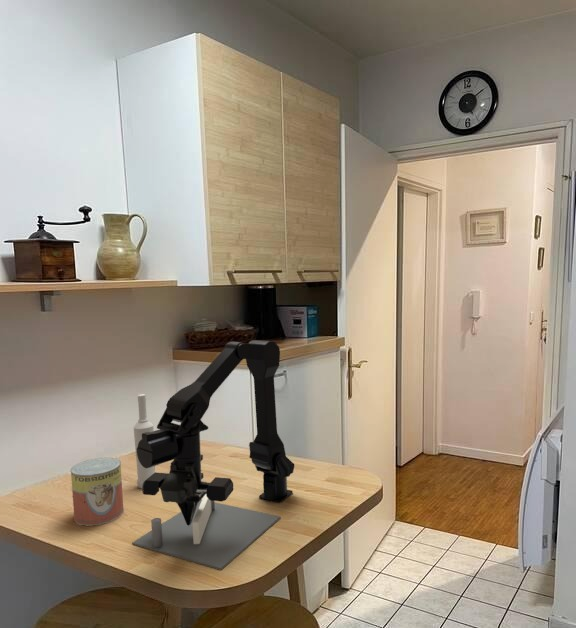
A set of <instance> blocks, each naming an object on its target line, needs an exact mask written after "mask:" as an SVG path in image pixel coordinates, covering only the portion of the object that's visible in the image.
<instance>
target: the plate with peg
mask: <svg viewBox="0 0 576 628" xmlns="http://www.w3.org/2000/svg"><path fill="white" fill-rule="evenodd" d="M202 499H203V498H202ZM202 499H201V500H200V501H199V503H198V505H197V508H196V511H195V514H194V517H193V519H192V522H191V524H190V525H189V526H188V525H187V524H186V521H185V519H184V517H183V514H182V512H181V511H180V512H178V513H177V514H175V515H173V516H172V517H170V518H168V519H167V520H165V521H164V522H163V523H162V518H160V517H155V518H152V519H150V522H151V524H150V525H151V530H149V531H148V532H147V533H145V534H144V535H142V536H140V537H139V538H137V539H136V540H134V541H132V543H131V544H132V545H134V546H136V547H141V548H143V547H144V549H147V550H151V551H154V552H157V553H161V554H165V555H168V556H172V557H175V558H178V559H182V560H186V561H189V562H192V563H195V564H199V565H202V566H205V567H210V568H212V569H216V570H220V571H222V570H223V569H224V568H226V567H227V565H229V564H230V563H231V562H232V561H234V559H236V558H237V557H238V556H239V555H240V554H241V553H242V552H244V551H245V550H246V549H247V548H249V546H251V545H252V544H253V543H254V542H255V541H256V540H258V538H260V537H261V536H262V535H263V534H264V533H265V532H266V531H268V530H269V529H271V527H273V525H275V524H276V523H277V522H278V521H279V520H280V519H282V518H281V515H277V514H276V515H275V514H270V513H267V512H262V511H258V510H253V509H248V508H242V507H238V506H234V505H229V504H226V503H225V504H224V503H220V502H217V501H214V503H215V509H214V510H212V511H211V514H210V517H209V519H208V522H207V525H206V528H205V530H204V533H203V536H202V539H201V541H200V544H194V541H193V520H194V518H195V515H196V513H197V511H198V508H199V506H200V504H201V501H202Z"/></svg>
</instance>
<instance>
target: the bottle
mask: <svg viewBox="0 0 576 628" xmlns="http://www.w3.org/2000/svg"><path fill="white" fill-rule="evenodd" d="M146 397H147V396H146V394H144V393H141V394H138V395H137V403H138V420H137V423H136V424H135V425H134V426H133V435H134V436H133V438H134V449H135V459H136V472H137V479H136V485H137V487H138V488H139V489H141V490H142V485H143V482H144V481H145V480H146V479H147V478H149V477H150V476H151V475H152V474H154V473H155V472H156V466H153V467H150V468H144V467H143V466H142V465H141V464H140V462H139V460H138V456H137V448H138V443H139V441H140V440H142V433H145V432H153V431H155V430H154V424H153V423H152V422H151V421H149V418H148V417H147V414H148V413H147V398H146Z"/></svg>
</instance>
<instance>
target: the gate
mask: <svg viewBox="0 0 576 628" xmlns="http://www.w3.org/2000/svg"><path fill="white" fill-rule="evenodd" d="M214 502H215V501H211V500H209V499H208V498H207V496H206V494H205V496H204V497H203V498H202V501H201V504H200V506H199V508H198V511H197V513H196V515H195V518H194V520H193V541H194V544H200V541H201V539H202V536H203V533H204V530H205V528H206V525H207V522H208V519H209V517H210V514H211V511H212V510H214V509H215V503H214Z"/></svg>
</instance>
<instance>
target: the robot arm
mask: <svg viewBox="0 0 576 628" xmlns="http://www.w3.org/2000/svg"><path fill="white" fill-rule="evenodd" d="M280 359H281V350H280V347H279V345H278V344H277V343H276V342H275V341H272V340H271V341H270V340H260V339H259V340H257V339H253V340H250V341H249V342H248V343H245V342H240V341H239V342H238V341H229V342H227V343H226V344H224V348H223V349H222V351H220V353H219V354H218V355H217V356H216V357H215V358H214V360H212V362H211V363H210V364H209V365H208V366H207V367H206V368H205V370H204V371H203V372H202V373H201V374H199V376H198V377H197V378H196V380H194V381H193V382H192V383H191V384H189V385H187V386H185V387H183V388H181V389H179V390H178V391H177V392H176V393H175V394H173V395H172V396H171V397H169V399H168V400H167V403H166V408H165V410H164V412H163V414H162V415H161V418H160V420H159V421H158V423H157V425H156V429H157V430H154V431H153V432H145V433H142V440H140V441H139V443H138V448H137V456H138V460H139V462H140V464H141V465H142V466H143V467H144V468H150V467H153V466H155V467H156V466H159V465H163V464H165V463H167V462H170V466H169V469H170V470H169V473H167V472H157V471H155V473H154V474H152V475H151V476H150V477H149V478H147V479H146V480H145V481H144V482H143V485H142V489H141V490H142V495H144V496H146V495H148V496H156V495H157V494H158V493H159V492H160V493H161V498H162V501H163V502H165V503H169V502H170V503H175V504H177V506H178V507H179V509H180V512H182V514H183V517H184V519H185V521H186V524H187V525H188V526H189V525H190V524H191V522H192V519H193V517H194V514H195V511H196V508H197V505H198V503H199V501H200V500H201V499H203V497H204V496H205V494H206V496H207V498H208V499H209V500H211V501H214V502H225V501H227V499H228V498H229V497H230V496H231V494H232V492H233V491H234V482H233V481H232V479H231V478H229V477H217V476H215V477H214V478H213V479H212V480H211V481H210V482H207V481H202V480H203V478H204V472H202V461H203V460H204V454H201V432H204V431H207V430H209V426H208V425H206V424H205V423H204V422H203V421H202V419H203V417H204V415H205V414H206V412H207V411H208V409H209V407H210V403H211V402H210V401H211V398H212V397H213V395H214V394H215V392H216V391H217V390H218V389H219V388H220V386H221V385H222V384H223V383H224V382H225V381H226V380H227V379H228V377H229V376H230V375H231V374H232V373H233V371H234V370H235V369H236V368H237V366H238V365H240V364H241V362H242V361H243V360H245V362H246V366H247V368H248V369H249V371H250V374H251V376H252V377H253V384H254V385H253V386H254V387H253V388H254V401H255V402H254V404H255V418H256V419H255V420H256V436H255V438H254V439H253V441H250V442H249V444H248V448H249V458H250V459H251V462H252V464H253V465H254V467H255V469H256V471H258V472H261V473H263V475H262V477H263V481H262V482H263V484H262V485H263V492H262V493H261V494H260V495H259V496H258V498H259V499H260V500H266V501H271V502H276V503H282V502H284V501H285V500H286V499H287V498H288V497H290V496H291V495H292V494H293V490H291V489H288V480H287V479H288V477H290V476H291V474H293V473H294V471H295V463H293V461H292V460H291V459H289V458H288V456H287V455H286V450H285V445H284V442H283V441H282V439H281V437H280V436H279V433H278V427H277V426H278V424H277V422H278V421H277V408H276V390H275V375H276V372H277V371H278V369H279V367H280V362H281V361H280ZM173 421H174V422H177V423H180V424H177V423H174V422H173Z"/></svg>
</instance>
